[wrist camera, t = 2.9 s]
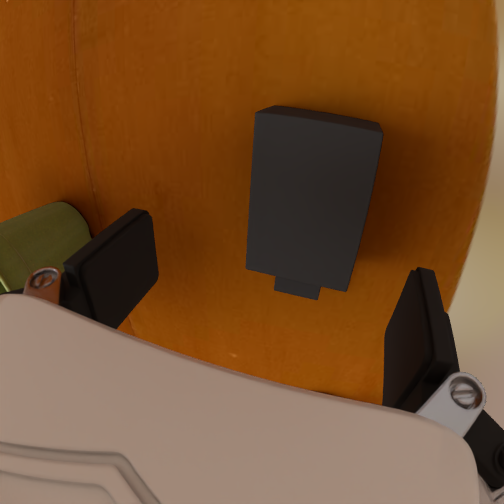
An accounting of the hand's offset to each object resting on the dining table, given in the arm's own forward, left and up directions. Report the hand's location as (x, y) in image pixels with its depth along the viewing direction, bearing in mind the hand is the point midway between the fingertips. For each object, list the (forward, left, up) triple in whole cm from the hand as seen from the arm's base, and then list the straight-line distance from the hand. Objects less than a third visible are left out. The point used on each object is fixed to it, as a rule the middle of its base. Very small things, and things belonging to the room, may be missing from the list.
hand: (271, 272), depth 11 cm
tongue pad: (0, +2, -9) cm, 10 cm away
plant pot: (+22, +8, -10) cm, 25 cm away
